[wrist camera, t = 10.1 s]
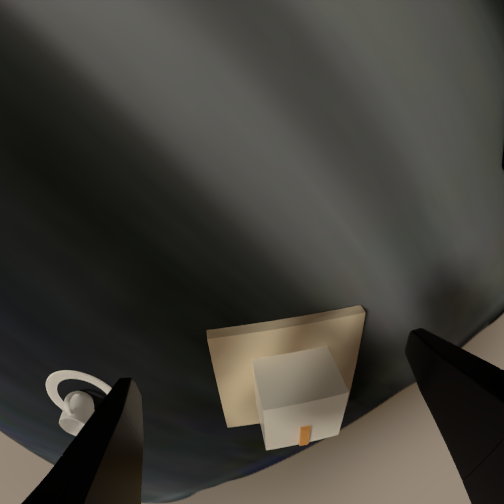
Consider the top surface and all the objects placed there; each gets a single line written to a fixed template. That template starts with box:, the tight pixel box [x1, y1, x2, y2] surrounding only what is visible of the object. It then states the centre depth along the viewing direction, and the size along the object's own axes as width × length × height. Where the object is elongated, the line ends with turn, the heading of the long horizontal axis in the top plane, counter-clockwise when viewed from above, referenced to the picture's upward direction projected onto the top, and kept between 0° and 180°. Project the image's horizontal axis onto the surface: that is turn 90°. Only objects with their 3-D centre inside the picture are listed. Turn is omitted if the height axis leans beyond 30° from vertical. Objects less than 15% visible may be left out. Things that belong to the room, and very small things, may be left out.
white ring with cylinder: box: [46, 370, 112, 436], centre depth 24 cm, size 9×8×4 cm
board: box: [207, 305, 366, 427], centre depth 25 cm, size 12×12×4 cm
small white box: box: [252, 346, 349, 450], centre depth 23 cm, size 6×6×5 cm
